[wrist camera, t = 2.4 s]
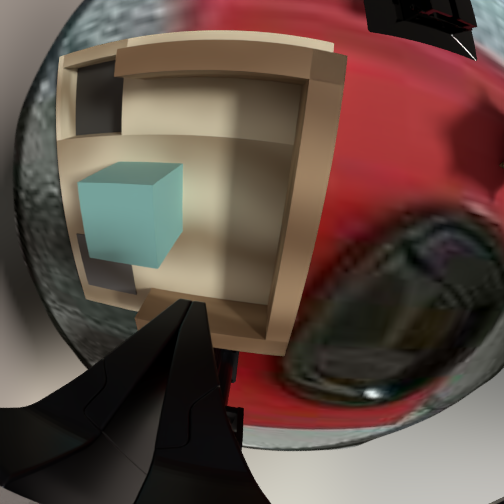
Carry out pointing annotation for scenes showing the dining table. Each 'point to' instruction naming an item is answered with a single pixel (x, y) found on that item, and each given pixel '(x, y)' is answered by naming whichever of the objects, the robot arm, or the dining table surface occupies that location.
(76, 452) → the robot arm
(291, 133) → the board
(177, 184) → the block
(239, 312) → the cubby
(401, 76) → the dining table surface
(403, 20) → the black box
